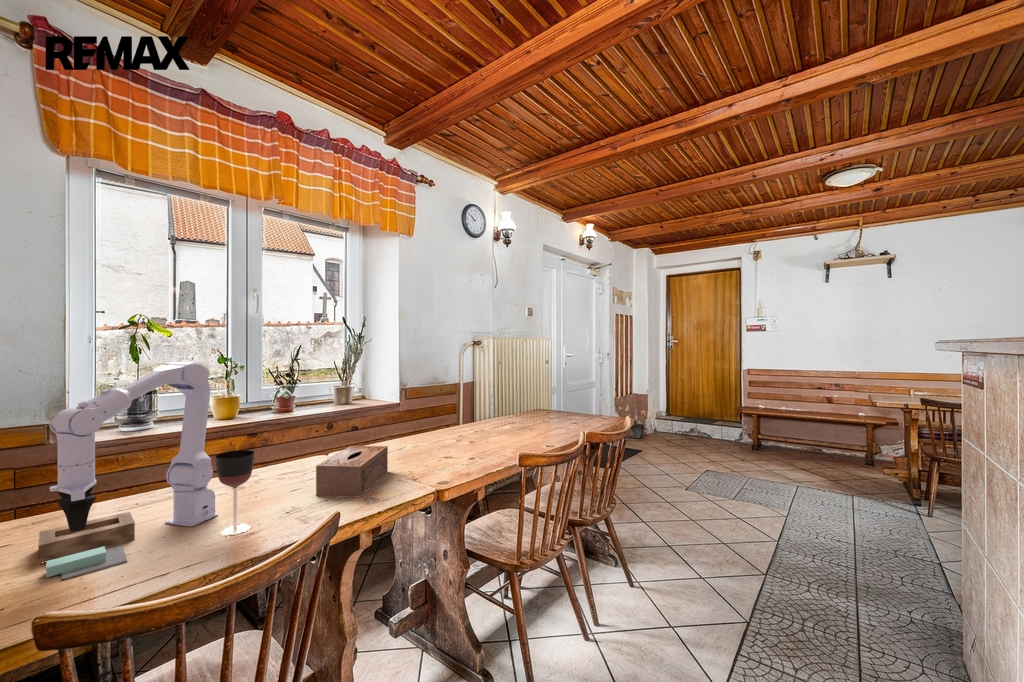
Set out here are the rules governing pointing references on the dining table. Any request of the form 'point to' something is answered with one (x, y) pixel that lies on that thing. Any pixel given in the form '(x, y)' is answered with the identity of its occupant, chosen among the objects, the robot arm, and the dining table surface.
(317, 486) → the tissue box cover
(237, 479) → the wineglass
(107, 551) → the grey mat
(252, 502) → the dining table surface
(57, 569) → the teal block
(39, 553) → the walnut frame
